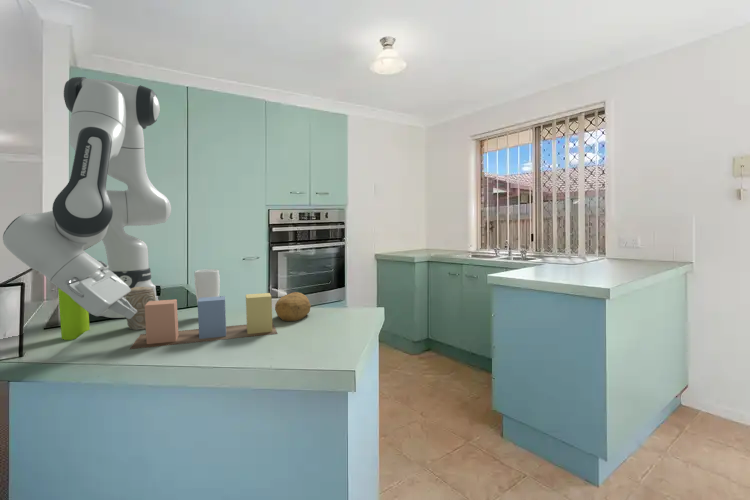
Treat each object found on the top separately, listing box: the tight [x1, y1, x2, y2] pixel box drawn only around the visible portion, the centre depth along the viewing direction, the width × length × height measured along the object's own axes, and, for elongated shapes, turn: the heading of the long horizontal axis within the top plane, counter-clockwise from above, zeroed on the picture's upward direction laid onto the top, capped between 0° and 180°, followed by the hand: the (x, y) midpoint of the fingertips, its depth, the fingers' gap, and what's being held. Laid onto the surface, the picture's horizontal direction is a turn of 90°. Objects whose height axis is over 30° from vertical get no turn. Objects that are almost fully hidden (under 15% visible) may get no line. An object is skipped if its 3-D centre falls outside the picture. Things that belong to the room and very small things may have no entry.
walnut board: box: [129, 321, 278, 350], centre depth 99 cm, size 12×32×2 cm, turn 110°
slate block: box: [197, 295, 227, 339], centre depth 98 cm, size 5×6×9 cm
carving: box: [125, 287, 156, 331], centre depth 106 cm, size 6×8×12 cm
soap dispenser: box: [57, 287, 91, 341], centre depth 102 cm, size 6×7×20 cm
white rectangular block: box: [194, 268, 221, 305], centre depth 117 cm, size 7×7×15 cm
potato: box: [274, 291, 312, 322], centre depth 115 cm, size 10×14×8 cm
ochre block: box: [245, 292, 273, 334], centre depth 101 cm, size 5×6×9 cm
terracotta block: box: [145, 298, 179, 344], centre depth 94 cm, size 5×6×9 cm
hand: (133, 315), depth 92 cm, fingers closed
